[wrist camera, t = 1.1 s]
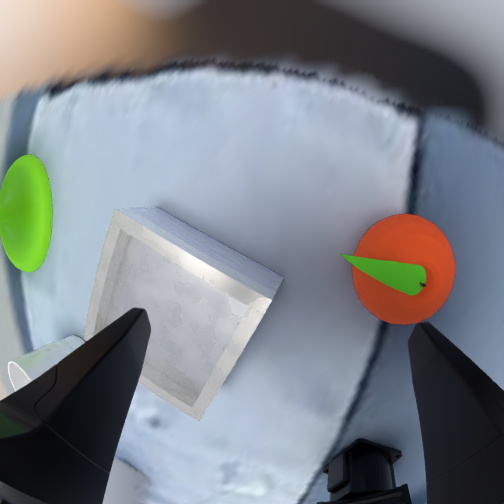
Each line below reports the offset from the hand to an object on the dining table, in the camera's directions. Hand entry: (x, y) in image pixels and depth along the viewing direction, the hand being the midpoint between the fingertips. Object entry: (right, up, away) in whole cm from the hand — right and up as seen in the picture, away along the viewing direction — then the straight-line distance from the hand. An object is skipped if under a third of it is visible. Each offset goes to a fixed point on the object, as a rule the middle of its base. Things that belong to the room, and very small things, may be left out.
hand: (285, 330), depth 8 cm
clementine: (+9, +2, +11) cm, 14 cm away
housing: (-6, -2, +15) cm, 17 cm away
